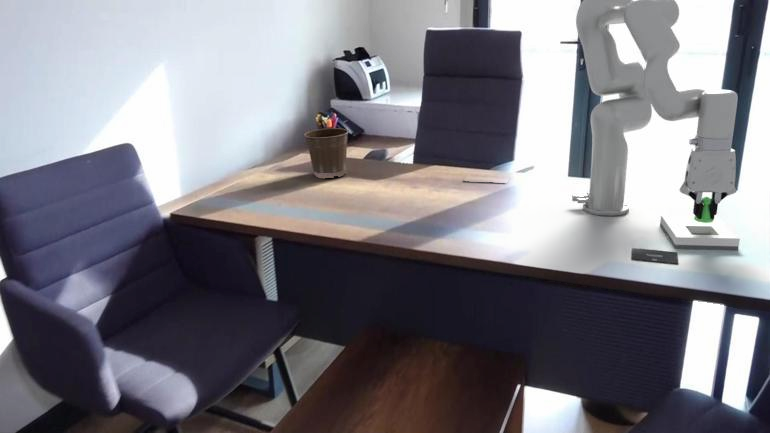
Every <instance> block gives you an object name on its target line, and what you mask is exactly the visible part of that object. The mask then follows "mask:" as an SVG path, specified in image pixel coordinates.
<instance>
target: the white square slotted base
mask: <svg viewBox="0 0 770 433" xmlns="http://www.w3.org/2000/svg"><path fill="white" fill-rule="evenodd" d="M694 217H695V215H676V214H675V215H674V214H670V215H669V214H660V220H659V227H660V228H661V229H662V231H663V233H664V234H665V236H666V237H667V239H668V240H669V242H670V243H671V245H672V246H673V248H674V249H680V250H681V249H682V250H709V251H710V250H711V251H713V250H717V251H718V250H719V251H738V250H739V247H740V240H741V238H740V237H739V236H738V235H737V234H736V233H735V232H734V230H732V228H730V227H729V226H728V225H727V223H726V222H725V221H724V220H723V219H722V218H721V217H720V216H719V215H715V216H714V220H713V222H710V223H703V222H698V221H696V220H694Z"/></svg>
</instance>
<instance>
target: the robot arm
mask: <svg viewBox="0 0 770 433" xmlns="http://www.w3.org/2000/svg"><path fill="white" fill-rule="evenodd" d="M575 16H576V18H575V23H576V24H575V26H576V29H577V30H576V31H577V35H578V37H579V41H580V44H581V46H582V51H583V56H584V62H585V67H586V71H587V72H586V73H587V78H588V83H589V87H590V89H591V92H592V93H593V94H595V96H602V97H603V96H612V95H618V97H619V98H614V99H607V100H604V101H601V102H599V103H598V104H597V105H596V106H594V108H593V109H592V110H591V113H590V121H589V122H590V128H591V136H592V140H591V141H592V142H591V144H592V145H591V146H592V147H591V162H590V163H591V166H590V177H589V183H590V184H589V190H587V192H586V193H583V195H582V194H581V195H580V194H572V197H571V199H572V202H577V204H582V209H583V210H584V211H585V212H587V213H590V214H592V215H598V216H605V217H606V216H607V217H608V216H611V217H613V216H620V215H624V214H627V213H628V212H630V211H629V209H630V206H629V204H627V203H626V202H625V192H626V191H625V190H626V182H627V181H626V178H627V169H628V155H629V148H628V147H629V146H628V142H627V141H626V138H625V134H624V133H629V132H634V131H638V130H641V129H643V128H645V127H646V126H648V125H649V123H650V122H651V119H652V113H653V111H652V107H653V110H654V111H655V113H656V114H657V115H658V117H660V118H661V119H662V120H665V121H668V122H674V121H675V122H676V121H682V120H687V119H694V118H697V119H698V120H697V128H696V129H697V130H696V135H695V136H694V138H689V141H688V144H689V145H690V146H691V145H692V146H694V147H692V148H691V151H690V154H689V157H688V161H687V163H686V168H685V174H684V181H683V183H682V184H681V186H680V188H679V192H680V193H681V194H684V195H686V196H688V197H690V198H691V199H692V200H693V201H694V202H693V209H692V210H693V211H692V213H693V216H697V218H698V219H702V211H703V203H702V198H703V194H704V193H711V198H710V199H712V200H711V204H708V206H709V209H710V217H711V219H714V216H717V215H718V206H719V205H718V204H720V203H721V202H722V200H724V199H725V198H727V197H728V196H731V195H734V194H736V193H737V189H736V188H737V187H736V186H735V183H736V171H737V169H736V168H737V165H736V164H737V160H736V150H735V149H733V148H732V144H733V139H734V138H733V136H734V130H735V124H736V114H737V107H738V96H739V95H738V93H737V92H735V91H734V90H730V89H714V88H710V87H707V86H705V85H704V86H703V85H693V86H685V87H677V88H676V86H675V84H674V83H673V80H672V78H671V77H670V74H669V71H668V63H669V60H670V59H671V58H672V57H673V56H675V54H677V53H678V51H679V49H680V45H681V43H680V40H678V38H677V36H676V34H675V33H674V31H673V28H672V27H673V26H674V25H675V24H676V23H678V22H677V21H678V19H679V16H680V7H679V5H678V3H677V1H676V0H582V2H581V3H580V5H579V7H578V9H577V11H576V15H575ZM616 24H617V25H620V24H625V25H626V27H627V29H628V31H629V33H630V35H631V37H632V39H633V40H634V43H635V44H636V46H637V48H638V50H639V52H640V54H641V56H642V58H643V60H644V63H645V64H644V65H645V66H644V67H643V65H642V64H641V63H640V62H639V61H638V60H636V59H634V58H628V57H626V58H620V57H619V53H618V49H617V45H616V44H617V43H616V40H615V38H614V37H613V34H611V32H610V31H609V30H608V29H607V25H616Z"/></svg>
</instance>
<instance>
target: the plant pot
mask: <svg viewBox="0 0 770 433" xmlns="http://www.w3.org/2000/svg"><path fill="white" fill-rule="evenodd" d="M348 135H349V130H348V129H345V128H337V127H329V128H328V127H327V128H320V129H313V130H310V131H309V130H308V131H307V132H305V133H304V134H303V137H304V138H305V141H306V145H307V147H308V152H309V156H310V163H311V168H312V170H313V171H314V172H317V173H337V172H341V171H344V170H345V169H346V170H347V146H348V145H347V144H348ZM313 171H312V172H313Z"/></svg>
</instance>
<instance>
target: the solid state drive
mask: <svg viewBox="0 0 770 433" xmlns="http://www.w3.org/2000/svg"><path fill="white" fill-rule="evenodd" d="M631 261H637V262H645V263H646V262H648V263H656V264H657V263H658V264H666V265H676V266H677V265H679V256H678V252H677V251H670V250H669V251H668V250H660V249H659V250H658V249H657V250H656V249H646V248H637V247H632V249H631Z"/></svg>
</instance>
